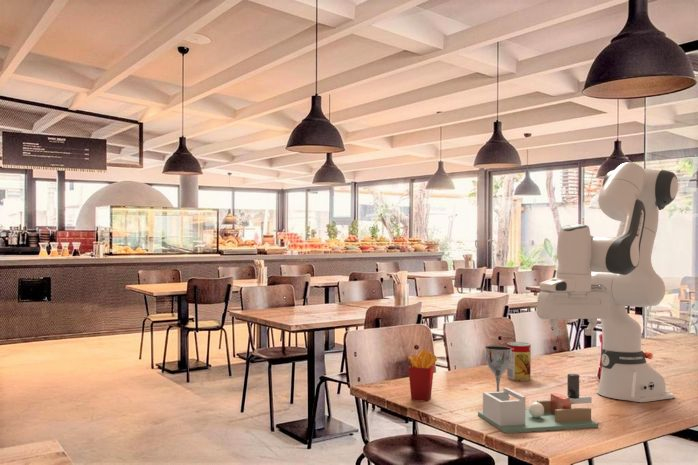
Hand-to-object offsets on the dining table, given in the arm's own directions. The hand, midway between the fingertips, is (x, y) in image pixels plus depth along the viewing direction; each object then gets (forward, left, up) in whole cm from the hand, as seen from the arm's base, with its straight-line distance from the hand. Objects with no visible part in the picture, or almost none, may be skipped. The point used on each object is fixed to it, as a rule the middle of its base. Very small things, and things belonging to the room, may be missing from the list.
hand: (573, 335), depth 165 cm
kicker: (0, 0, -21) cm, 21 cm away
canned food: (-10, -48, -23) cm, 54 cm away
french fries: (+32, -28, -23) cm, 48 cm away
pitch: (+11, 0, -22) cm, 25 cm away
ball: (+11, 0, -19) cm, 22 cm away
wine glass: (+9, -26, -23) cm, 36 cm away
